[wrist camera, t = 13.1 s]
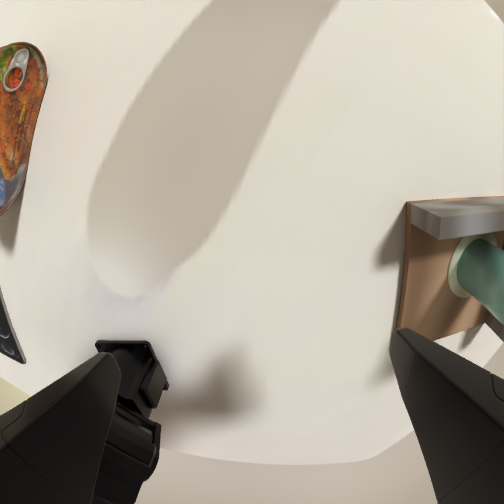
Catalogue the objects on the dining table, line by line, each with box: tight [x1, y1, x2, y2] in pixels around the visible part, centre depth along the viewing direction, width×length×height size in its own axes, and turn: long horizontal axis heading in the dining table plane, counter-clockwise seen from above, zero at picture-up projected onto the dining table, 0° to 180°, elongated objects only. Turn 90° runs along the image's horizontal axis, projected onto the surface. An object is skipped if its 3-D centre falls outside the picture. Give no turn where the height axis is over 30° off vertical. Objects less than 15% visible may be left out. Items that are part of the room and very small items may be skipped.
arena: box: [396, 196, 504, 342], centre depth 18 cm, size 14×14×5 cm
